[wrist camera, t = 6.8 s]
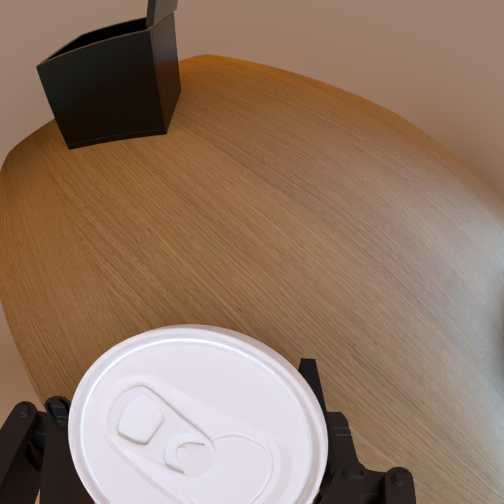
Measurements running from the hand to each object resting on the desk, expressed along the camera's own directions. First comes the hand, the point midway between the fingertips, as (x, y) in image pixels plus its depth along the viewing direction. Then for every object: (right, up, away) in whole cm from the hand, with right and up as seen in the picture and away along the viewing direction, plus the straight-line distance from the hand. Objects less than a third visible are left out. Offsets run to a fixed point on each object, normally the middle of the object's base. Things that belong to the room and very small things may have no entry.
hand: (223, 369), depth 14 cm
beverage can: (-1, -5, +2) cm, 5 cm away
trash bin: (-16, +26, +19) cm, 36 cm away
